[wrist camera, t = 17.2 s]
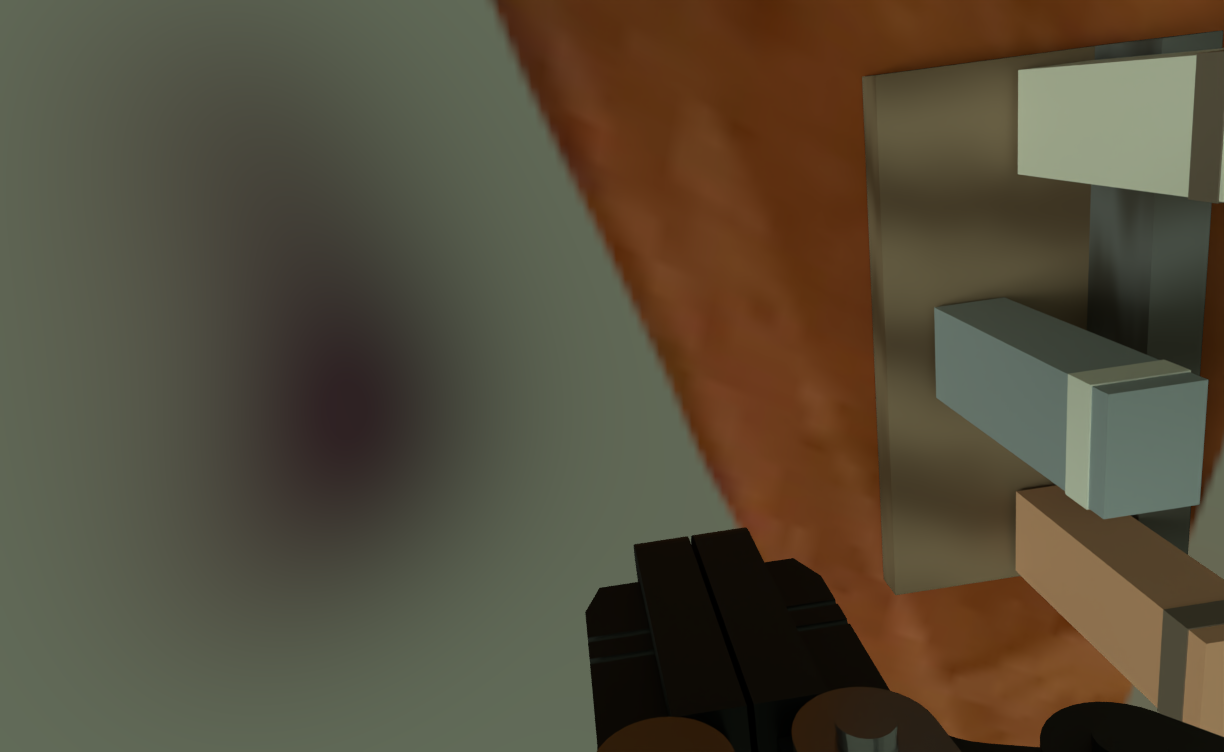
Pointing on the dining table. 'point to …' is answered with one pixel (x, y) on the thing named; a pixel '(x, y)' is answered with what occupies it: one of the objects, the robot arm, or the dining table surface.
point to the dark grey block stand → (1001, 293)
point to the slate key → (1075, 405)
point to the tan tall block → (1130, 601)
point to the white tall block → (1127, 123)
